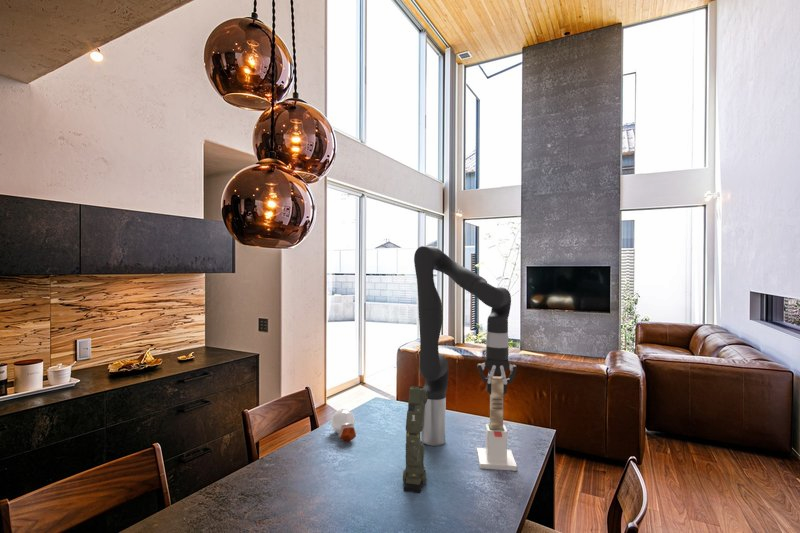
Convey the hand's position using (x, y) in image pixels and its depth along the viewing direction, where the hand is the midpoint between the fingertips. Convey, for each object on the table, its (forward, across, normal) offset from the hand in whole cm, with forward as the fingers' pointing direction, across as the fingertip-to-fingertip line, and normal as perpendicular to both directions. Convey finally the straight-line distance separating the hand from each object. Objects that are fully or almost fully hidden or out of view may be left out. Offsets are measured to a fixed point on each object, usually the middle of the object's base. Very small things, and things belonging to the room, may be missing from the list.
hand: (496, 393), depth 137 cm
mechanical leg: (+23, -27, -17) cm, 40 cm away
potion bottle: (+24, -57, +13) cm, 63 cm away
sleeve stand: (+23, 0, 0) cm, 23 cm away
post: (+16, 0, 0) cm, 16 cm away
